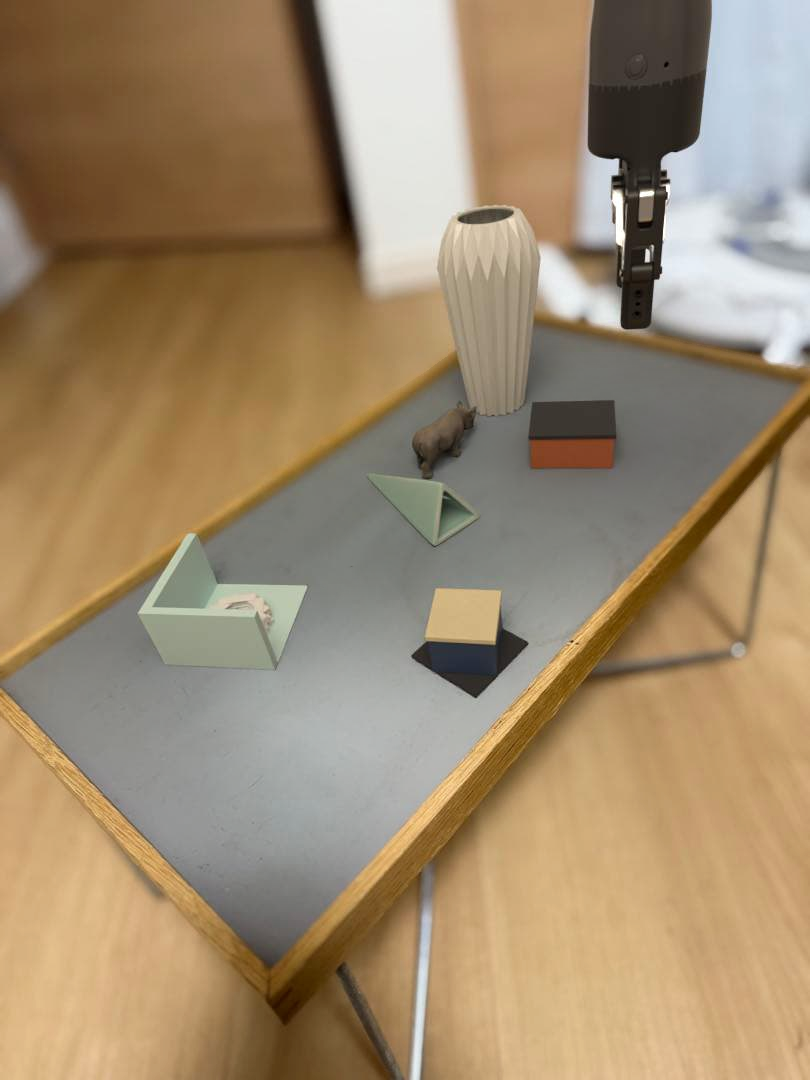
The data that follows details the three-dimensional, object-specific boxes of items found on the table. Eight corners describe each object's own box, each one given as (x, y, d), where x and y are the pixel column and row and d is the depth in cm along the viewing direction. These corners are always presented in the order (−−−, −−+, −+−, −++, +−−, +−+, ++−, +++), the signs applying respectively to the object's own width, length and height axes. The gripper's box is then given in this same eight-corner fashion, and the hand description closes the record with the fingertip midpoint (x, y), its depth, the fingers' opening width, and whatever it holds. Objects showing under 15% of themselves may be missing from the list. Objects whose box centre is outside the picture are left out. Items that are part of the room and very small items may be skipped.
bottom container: (612, 433, 93) (614, 399, 90) (614, 469, 87) (616, 434, 84) (533, 434, 96) (532, 401, 93) (529, 469, 90) (528, 435, 86)
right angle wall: (274, 669, 69) (254, 617, 64) (165, 664, 72) (137, 613, 67) (307, 585, 78) (291, 533, 73) (209, 583, 81) (187, 533, 76)
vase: (433, 412, 104) (410, 227, 88) (487, 374, 111) (475, 195, 94) (507, 436, 96) (496, 237, 80) (560, 393, 103) (561, 202, 87)
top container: (504, 626, 69) (501, 590, 66) (498, 677, 64) (495, 640, 61) (441, 623, 70) (435, 587, 67) (430, 673, 66) (424, 636, 63)
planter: (324, 501, 90) (417, 531, 77) (348, 458, 91) (443, 481, 78) (364, 528, 95) (457, 561, 82) (386, 487, 96) (481, 513, 83)
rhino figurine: (491, 431, 98) (488, 392, 94) (432, 482, 90) (426, 442, 87) (467, 424, 100) (463, 386, 96) (407, 473, 93) (401, 434, 89)
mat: (464, 609, 72) (463, 606, 72) (528, 644, 67) (528, 641, 67) (411, 658, 68) (411, 655, 68) (475, 698, 63) (475, 695, 63)
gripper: (723, 77, 41) (691, 341, 51) (694, 46, 51) (672, 270, 61) (589, 95, 42) (584, 346, 53) (587, 62, 53) (584, 277, 63)
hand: (632, 305), depth 57 cm, fingers open, 8 cm apart
